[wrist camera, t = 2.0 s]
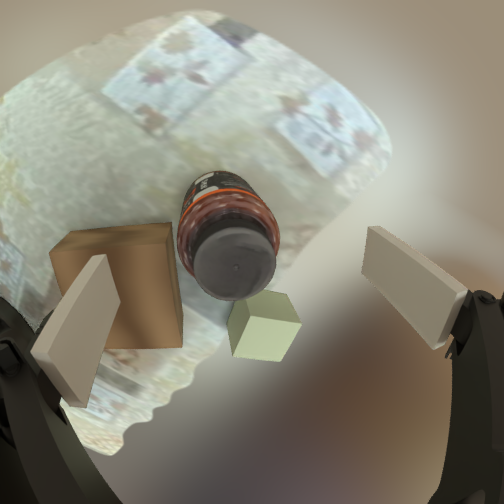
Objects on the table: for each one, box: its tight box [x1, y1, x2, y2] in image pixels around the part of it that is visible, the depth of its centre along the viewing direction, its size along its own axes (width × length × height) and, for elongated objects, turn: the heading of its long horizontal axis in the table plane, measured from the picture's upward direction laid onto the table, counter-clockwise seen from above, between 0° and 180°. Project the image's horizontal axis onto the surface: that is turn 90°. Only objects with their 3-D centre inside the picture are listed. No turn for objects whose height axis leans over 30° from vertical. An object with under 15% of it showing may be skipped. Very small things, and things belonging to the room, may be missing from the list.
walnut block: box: [49, 222, 183, 349], centre depth 22 cm, size 10×10×5 cm
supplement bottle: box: [177, 171, 280, 301], centre depth 18 cm, size 6×6×11 cm
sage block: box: [227, 290, 302, 362], centre depth 26 cm, size 5×5×5 cm
